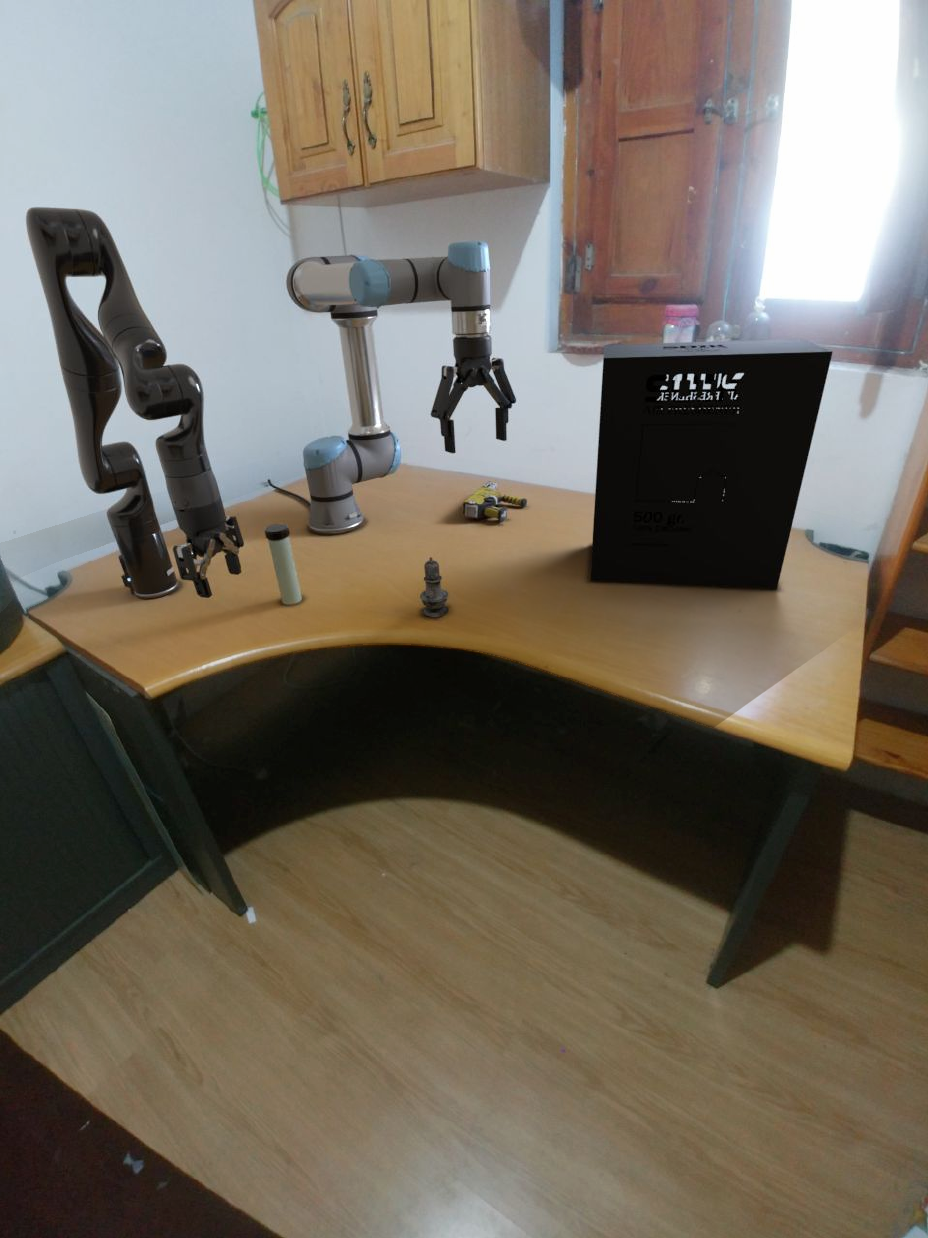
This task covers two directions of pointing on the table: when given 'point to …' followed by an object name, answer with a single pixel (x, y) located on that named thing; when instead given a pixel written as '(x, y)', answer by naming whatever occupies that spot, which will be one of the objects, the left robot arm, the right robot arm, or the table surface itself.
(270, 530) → the lid
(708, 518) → the cardboard box
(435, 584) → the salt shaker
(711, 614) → the table surface
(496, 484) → the toy gun
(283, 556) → the bottle
